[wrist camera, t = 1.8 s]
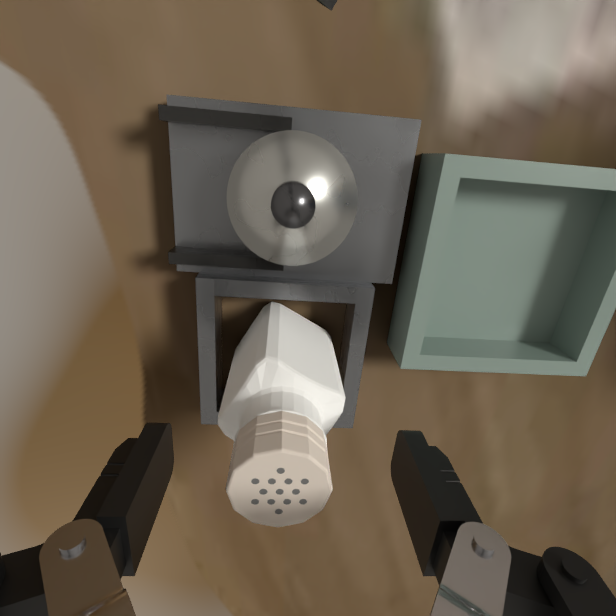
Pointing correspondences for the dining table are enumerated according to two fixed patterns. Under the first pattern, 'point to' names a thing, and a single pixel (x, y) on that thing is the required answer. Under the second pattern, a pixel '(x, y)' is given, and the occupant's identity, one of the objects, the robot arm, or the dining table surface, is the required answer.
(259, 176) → the grey caddy
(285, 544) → the dining table surface
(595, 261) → the tray
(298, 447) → the pepper shaker
